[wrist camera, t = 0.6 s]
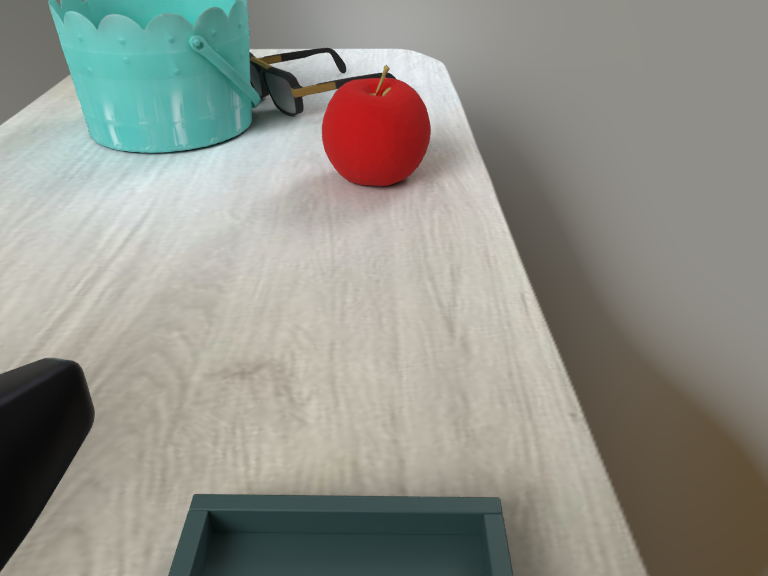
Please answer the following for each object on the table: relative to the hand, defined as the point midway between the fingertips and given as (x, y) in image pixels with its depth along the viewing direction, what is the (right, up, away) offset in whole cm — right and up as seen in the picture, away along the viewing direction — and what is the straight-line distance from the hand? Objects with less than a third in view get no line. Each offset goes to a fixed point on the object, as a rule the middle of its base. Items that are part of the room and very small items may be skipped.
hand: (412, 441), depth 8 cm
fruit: (-1, +11, +50) cm, 51 cm away
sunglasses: (-8, +25, +70) cm, 75 cm away
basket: (-23, +19, +61) cm, 68 cm away
